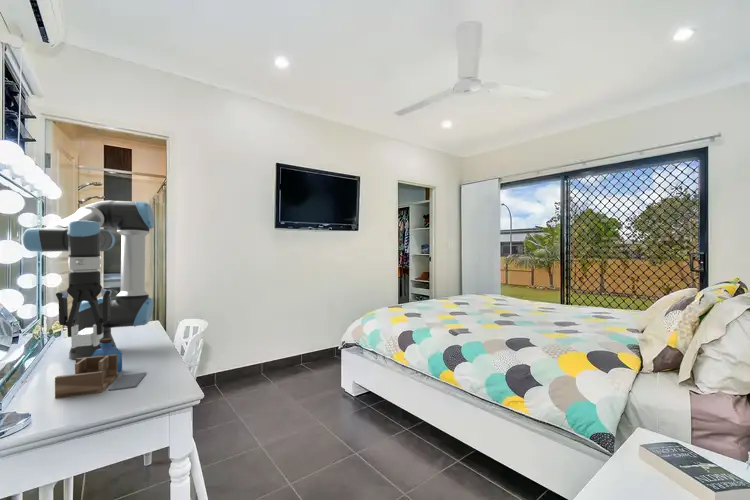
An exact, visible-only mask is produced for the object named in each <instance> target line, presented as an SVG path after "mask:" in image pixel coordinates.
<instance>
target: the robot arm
mask: <svg viewBox="0 0 750 500" xmlns="http://www.w3.org/2000/svg"><path fill="white" fill-rule="evenodd" d="M105 228H110V229H111V228H113V229H114V228H115V229H116V232H117V233H118V234H119V235H120V236H121V242H120V246H121V247H120V249H121V250H120V291H119V293H117V294H116V295H115V299H112V298H111V297H112V294H113V290H112V289H106V288H103V286H102V285H101V283H102V282H101V271H100V270H101V252H105V251H109V250H110V249H112V248H113V247H114V246H115V244H116V236H115V235H114V234H113V233H112V232H111V231H110V230H107V229H105ZM154 228H155V216H154V212H153V207H152V206H151V205H150V204H149V203H147V202H145V201H133V200H130V201H129V200H127V201H126V200H102V201H95V202H93V203H89V204H86V205H83V206H81V207H79V208H78V209H77V210H76V211H75V213H73V214H71V215H69V216H68V217H65V218H63V219H61V220H58V221H57V222H55V223H53V224H51V225H48V226H46V227H31V228H30V227H29V228H27V229H26V230H25V231H24V232H23V235H22V245H23V247H24V248H25V249H26V250H27V251H30V252H41V253H45V252H48V253H49V252H68V259H67V261H68V270H69V271H70V272H68V288H67V289H66V290H63V291H59V292H56V294H55V296H56V298H57V301H58V324H59V325H60V326H66V329H67V337H68V338H71V340H70V341H71V342H72V335H74V334H75V333H77V332H79V331H81V330H83V329H85V328H90V327H93V344H92V345H89V346H78V347H72V346H71V347H70V349H69V353H68V358H69V360H76V359H77V358H84V357H91V356H92V355H93V353H94V352H95V351H96V350H97V349H101V346H100V343H101V339H104V338H112V340H111V341H112V342H113V344H112V347H117V345H116V342H115V340H114V337H113V335H112V328H127V327H128V328H129V327H134V328H135V327H139V326H145V325H147V324H148V323H150V320H151V318H152V316H153V311H154V299H153V298H152V297H150V294H149V293H148V292H147V291H146V287H145V286H146V285H145V284H146V282H145V281H146V237H147V235H148V234H150V230H152V229H154ZM100 293H101V297H98V296H99V295H100ZM69 296H70V297H71V298H72V301H71V308H70V312H69V313H68V311H69V309H68V306H69V305H68V297H69ZM102 333H103V338H101V339H100V337H99V335H100V334H102Z"/></svg>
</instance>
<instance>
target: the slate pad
mask: <svg viewBox="0 0 750 500" xmlns="http://www.w3.org/2000/svg"><path fill="white" fill-rule="evenodd" d="M146 375H147V372H140V373H139V372H138V373H129V374H122V375H121V376H120V377H119V378H118V379H117V380H116V381H115V382H114V383H113V384H112V385H111V386H110V387H109V388H108V389H107V390H108V391H117V390H127V389H134V388H136V387H138V385H139V384H140V382H141V381H142V379H143V378H144V377H145V376H146Z"/></svg>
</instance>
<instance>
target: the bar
mask: <svg viewBox="0 0 750 500" xmlns="http://www.w3.org/2000/svg"><path fill="white" fill-rule="evenodd" d="M99 337H100V339H101V338H103V333H102V334H100V335H99ZM92 344H93V327H90V328H85V329H83V330H81V331H79V332H77V333H75V334H74V335H72V341H71V347H78V346H89V345H92Z"/></svg>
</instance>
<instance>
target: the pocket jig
mask: <svg viewBox="0 0 750 500" xmlns="http://www.w3.org/2000/svg"><path fill="white" fill-rule="evenodd" d="M118 373H119V372H118V354H115V355H105V356H95V357H84V358H77V359H75V364H74V373H73V374H65V375H57V376H56V377H54V399H60V398H61V399H62V398H67V397H76V396H77V397H78V396H85V395H92V394H100V393H103V392H104V391H105V390H106V389H107V387H109V386H110V385H111V384H112V382H113V381H115V380H116V379H117V378H118V375H119V374H118Z"/></svg>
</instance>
